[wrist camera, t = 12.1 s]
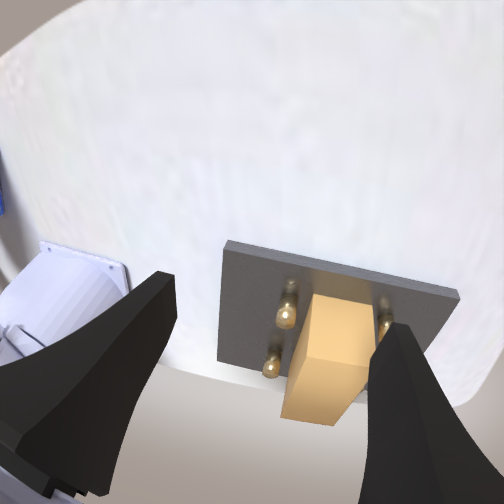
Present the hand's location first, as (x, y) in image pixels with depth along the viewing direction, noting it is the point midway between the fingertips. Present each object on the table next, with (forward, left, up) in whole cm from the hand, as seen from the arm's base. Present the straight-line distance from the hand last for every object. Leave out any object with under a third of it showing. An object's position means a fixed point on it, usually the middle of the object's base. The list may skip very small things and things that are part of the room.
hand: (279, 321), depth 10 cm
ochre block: (+4, -10, -8) cm, 14 cm away
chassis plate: (+4, -10, -9) cm, 14 cm away
